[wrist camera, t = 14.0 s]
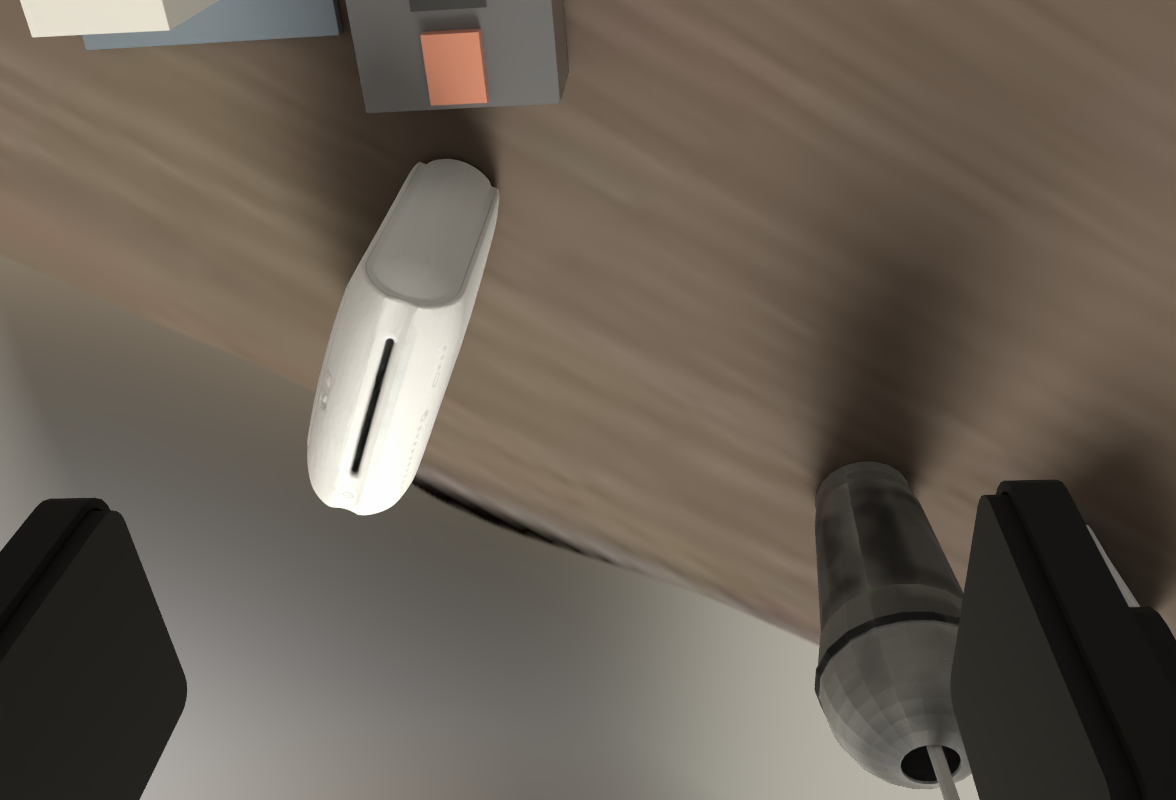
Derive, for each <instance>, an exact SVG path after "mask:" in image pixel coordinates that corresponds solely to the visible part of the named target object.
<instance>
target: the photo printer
mask: <svg viewBox="0 0 1176 800" xmlns="http://www.w3.org/2000/svg"><path fill="white" fill-rule="evenodd" d="M498 205H499V190H498V188H494V187H492V186H491V184H490V181H489V180H488V179H487V178H486V176H485V175H484V174H483V173H481V172H480V171H479V170H478V169H476V168H475V167H473V166H471V165H469V164H467V163H465V162H462V161H459V160H453V159H439V160H434V161H431V162H429V163H428V164H424V163H422V162H418V163H417V164H416V165H415V166H414V167H413V169H412V170H411V172H410V173H409V175H408V177H407V179H406V180H405V182H404V184H403V186H402V188H401V189H400V191H399V193H398V195H397V197H396V198H395V200H394V202H393V204H392V206H391V207H390V209H389V211H388V213H387V215H386V216H385V218H384V220H383V222H382V224H381V225H380V227H379V229H378V231H377V233H376V234H375V236H374V238H373V240H372V242H371V243H370V245H369V247H368V249H367V250H366V252H365V254H364V256H363V257H362V259H361V261H360V263H359V264H358V266H357V268H356V270H355V272H354V274H353V276H352V278H351V279H350V281H349V283H348V285H347V287H346V290H345V292H344V295H343V298H342V301H341V304H340V307H339V310H338V313H337V316H336V319H335V322H334V325H333V329H332V332H331V336H330V339H329V343H328V346H327V350H326V353H325V357H324V361H323V365H322V369H321V373H320V377H319V381H318V386H317V390H316V395H315V399H314V405H313V410H312V415H311V421H310V427H309V433H308V441H307V444H308V450H307V461H308V471H309V476H310V481H311V484H312V487H313V489H314V491H315V492H316V494H317V495H318V497H319V498H320V499H321V500H322V501H323V502H324V503H325V504H326V505H328V506H330V507H339V508H344V509H348V510H350V511H352V512H355V513H356V514H358V515H369V514H374V513H378V512H381V511H384V510H386V509H388V508H389V507H391V506H393V505H394V504H395V503H396V502H397V501H398V500H399V499H400V498H401V497H402V495H403V494H404V493H405V491H406V490H407V488H408V487H409V486H410V484H411V482H412V480H413V479H414V476H415V474H416V472H417V469H418V467H419V464H420V462H421V459H422V456H423V454H424V451H425V448H426V445H427V442H428V440H429V437H430V434H431V431H432V428H433V425H434V422H435V419H436V416H437V413H438V410H439V407H440V404H441V401H442V399H443V396H444V393H445V390H446V388H447V385H448V382H449V379H450V376H451V373H452V370H453V368H454V365H455V362H456V359H457V356H458V353H459V350H460V347H461V344H462V341H463V338H464V335H465V332H466V329H467V326H468V323H469V319H470V316H471V313H472V309H473V306H474V303H475V299H476V296H477V292H478V289H479V285H480V282H481V278H482V275H483V271H484V267H485V264H486V260H487V256H488V253H489V249H490V245H491V242H492V238H493V234H494V230H495V226H496V220H497V214H498Z"/></svg>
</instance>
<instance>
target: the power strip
mask: <svg viewBox="0 0 1176 800" xmlns="http://www.w3.org/2000/svg"><path fill="white" fill-rule="evenodd" d="M345 1H346V6H347V11H348V17H349V22H350V28H351V33H352V39H353V44H354V49H355V55H356V60H357V66H358V71H359V77H360V82H361V87H362V93H363V98H364V104H365V109H366V113H382V112H402V111H421V110H440V109H459V108H479V107H498V106H517V105H537V104H556V103H560V102H561V98H562V94H563V91H564V87H565V84H566V80H567V77H568V73H569V69H568V56H567V44H566V31H565V19H564V6H563V0H345Z"/></svg>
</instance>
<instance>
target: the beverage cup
mask: <svg viewBox="0 0 1176 800" xmlns="http://www.w3.org/2000/svg"><path fill="white" fill-rule="evenodd" d="M815 507H816V519H815V535H816V553H817V571H818V588H819V606H820V623H821V636H820V647H819V659H818V667H817V669H816V678H815V692H816V695H817V697H818V700H819V702H820V705H821V707H822V709H823V712H824V714H825V716H826V718H827V720H828V723H829V725H830V728H831V730H832V732H833V734H834V736H835V738H836V740H837V741H838V743H839V744H840V745H841V747H842V748H843V749H844V750H845V751H846V752H847V753H848V754H849V755H850V756H851V757H852V758H853V759H854V760H855V761H856V762H857V763H858V764H859V765H860V766H861V767H862V768H863V769H865V770H866V771H868V772H869V773H871V774H873V775H875V776H877V777H879V778H881V779H883V780H884V781H886V782H889V783H891V784H895V785H899V786H903V787H908V788H912V789H933V788H938V787H940V789H941V792H942V795H943V798H944V800H960V799H959V796H958V793H957V790H956V787H955V784H954V783H956V782H958V781H961V780H963V779H965V778H966V777H967V776H969V775H970V774H971V773H972V772H971V768H970V765H969V762H968V758H967V755H966V751H965V748H964V744H963V741H962V738H961V734H960V731H959V727H958V724H957V721H956V717H955V714H954V710H953V706H952V699H951V688H950V680H951V671H952V664H953V658H954V652H955V646H956V639H957V633H958V627H959V621H960V614H961V608H962V602H963V595H964V594H963V592H962V590H961V587H960V585H959V583H958V581H957V579H956V577H955V575H954V573H953V571H952V569H951V567H950V565H949V563H948V561H947V558H946V556H945V554H944V552H943V550H942V548H941V546H940V544H939V542H938V540H937V538H936V536H935V534H934V532H933V530H932V527H931V525H930V523H929V521H928V519H927V517H926V515H925V513H924V511H923V509H922V507H921V505H920V503H919V501H918V499H917V498H916V497H915V495H914V494H913V492H912V490H911V489H910V487H909V484H908V481H907V480H906V479H905V478H904V476H903V475H902V474H901V473H900V472H899V471H897V470H896V469H894V468H892V467H891V466H889V465H886V464H882V463H878V462H874V461H866V462H855V463H852V464H848V465H844V466H842V467H840V468H839V469H837V470H835V471H833V472H832V473H830V474H829V475H828V476H827V478H826V479H825V480H824V481H823V482H822V483H821V485H820V487H819V489H818V491H817V493H816V503H815Z"/></svg>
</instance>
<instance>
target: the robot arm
mask: <svg viewBox="0 0 1176 800" xmlns="http://www.w3.org/2000/svg"><path fill="white" fill-rule="evenodd" d="M950 688H951V699H952V706H953V710H954V714H955V717H956V721H957V724H958V727H959V731H960V734H961V738H962V741H963V744H964V748H965V751H966V755H967V758H968V762H969V765H970V768H971V772H972V775H973V778H974V782H975V785H976V789H977V792H978V796H979V799H980V800H1176V640H1175V638H1174V636H1173V635H1172V633H1171V631H1170V629H1169V627H1168V626H1167V624H1166V623H1165V621H1164V620H1163V618H1162V617H1161V616H1160V614H1159V613H1158V612H1157V611H1155V610H1153V609H1152V608H1150V607H1129V606H1128V604H1127V602H1126V600H1125V598H1124V597H1123V595H1122V593H1121V591H1120V589H1119V587H1118V585H1117V583H1116V581H1115V579H1114V578H1113V576H1112V574H1111V572H1110V570H1109V568H1108V566H1107V564H1106V562H1105V560H1104V559H1103V557H1102V555H1101V553H1100V551H1099V549H1098V547H1097V545H1096V543H1095V541H1094V540H1093V538H1092V536H1091V534H1090V532H1089V530H1088V528H1087V526H1086V524H1085V522H1084V521H1083V519H1082V517H1081V515H1080V513H1079V511H1078V509H1077V507H1076V505H1075V503H1074V502H1073V500H1072V498H1071V496H1070V494H1069V492H1068V490H1067V488H1066V487H1065V485H1064V484H1063V483H1062V482H1061V481H1059V480H1020V481H1003V482H1001V483H1000V485H999V486H998V488H997V492H996V495H983V496H981V498H980V500H979V503H978V508H977V514H976V520H975V527H974V533H973V539H972V545H971V552H970V558H969V564H968V570H967V577H966V583H965V589H964V595H963V602H962V608H961V614H960V621H959V627H958V633H957V639H956V646H955V652H954V658H953V664H952V671H951V680H950ZM186 697H187V682H186V679H185V675H184V672H183V669H182V667H181V664H180V662H179V659H178V657H177V654H176V652H175V649H174V646H173V644H172V641H171V639H170V636H169V633H168V631H167V628H166V626H165V623H164V621H163V618H162V615H161V613H160V610H159V608H158V605H157V603H156V600H155V597H154V595H153V592H152V590H151V587H150V584H149V582H148V579H147V577H146V574H145V571H144V569H143V566H142V564H141V561H140V559H139V556H138V554H137V551H136V549H135V546H134V543H133V541H132V538H131V535H130V533H129V530H128V528H127V525H126V523H125V521H124V518H123V517H122V515H121V514H120V513H119V512H117V511H111V510H110V509H109V507H108V505H107V504H106V503H105V502H104V501H103V500H102V499H98V498H69V499H68V498H67V499H48V500H45V501H43V502H42V503H40V504H39V505H38V506H37V507H36V508H35V509H34V511H33V512H32V513H31V514H30V515H29V517H28V518H27V519H26V520H25V522H24V523H23V524H22V526H21V527H20V528H19V529H18V531H17V532H16V533H15V534H14V535H13V537H12V538H11V539H10V540H9V542H8V543H7V544H6V545H5V547H4V548H3V549H2V550H1V552H0V800H139V799H140V797H141V795H142V793H143V791H144V789H145V787H146V785H147V783H148V781H149V779H150V777H151V775H152V773H153V771H154V769H155V767H156V765H157V762H158V761H159V758H160V757H161V754H162V752H163V750H164V748H165V746H166V744H167V742H168V740H169V738H170V736H171V734H172V732H173V730H174V728H175V726H176V724H177V722H178V720H179V718H180V716H181V714H182V711H183V709H184V706H185V702H186Z"/></svg>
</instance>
